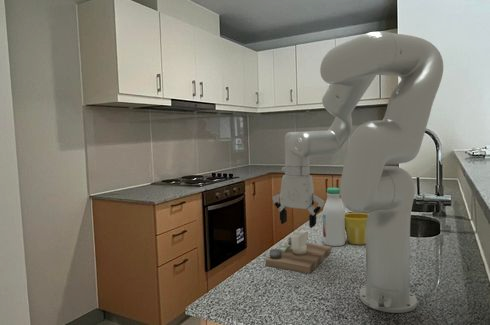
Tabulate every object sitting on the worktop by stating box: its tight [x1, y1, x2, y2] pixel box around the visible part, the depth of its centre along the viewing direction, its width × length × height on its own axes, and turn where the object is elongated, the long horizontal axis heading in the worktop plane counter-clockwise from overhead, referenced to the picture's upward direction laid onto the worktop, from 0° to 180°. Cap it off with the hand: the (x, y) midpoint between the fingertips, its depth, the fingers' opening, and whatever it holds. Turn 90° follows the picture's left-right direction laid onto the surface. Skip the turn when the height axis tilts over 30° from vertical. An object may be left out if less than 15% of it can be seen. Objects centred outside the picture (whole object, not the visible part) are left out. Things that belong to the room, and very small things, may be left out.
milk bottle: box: [322, 187, 346, 247], centre depth 126 cm, size 8×8×20 cm
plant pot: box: [345, 212, 369, 246], centre depth 127 cm, size 10×10×10 cm
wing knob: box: [290, 230, 309, 255], centre depth 113 cm, size 9×4×6 cm, turn 149°
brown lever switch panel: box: [265, 237, 332, 274], centre depth 112 cm, size 20×14×4 cm
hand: (297, 224), depth 112 cm, fingers open, 9 cm apart
